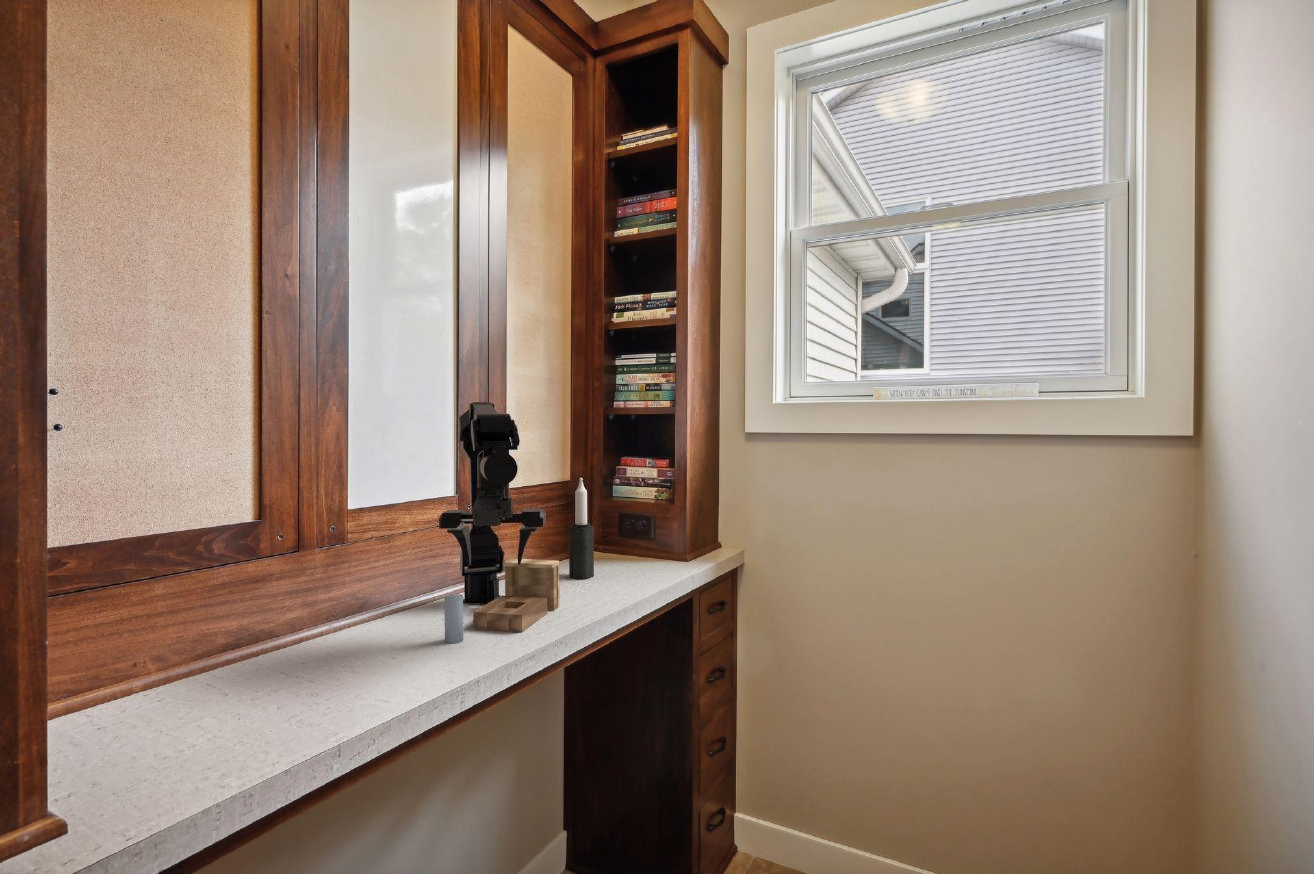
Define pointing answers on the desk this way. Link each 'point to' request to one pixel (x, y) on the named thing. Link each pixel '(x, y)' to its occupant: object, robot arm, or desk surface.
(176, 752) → the desk surface
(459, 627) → the peg
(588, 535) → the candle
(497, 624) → the socket station
